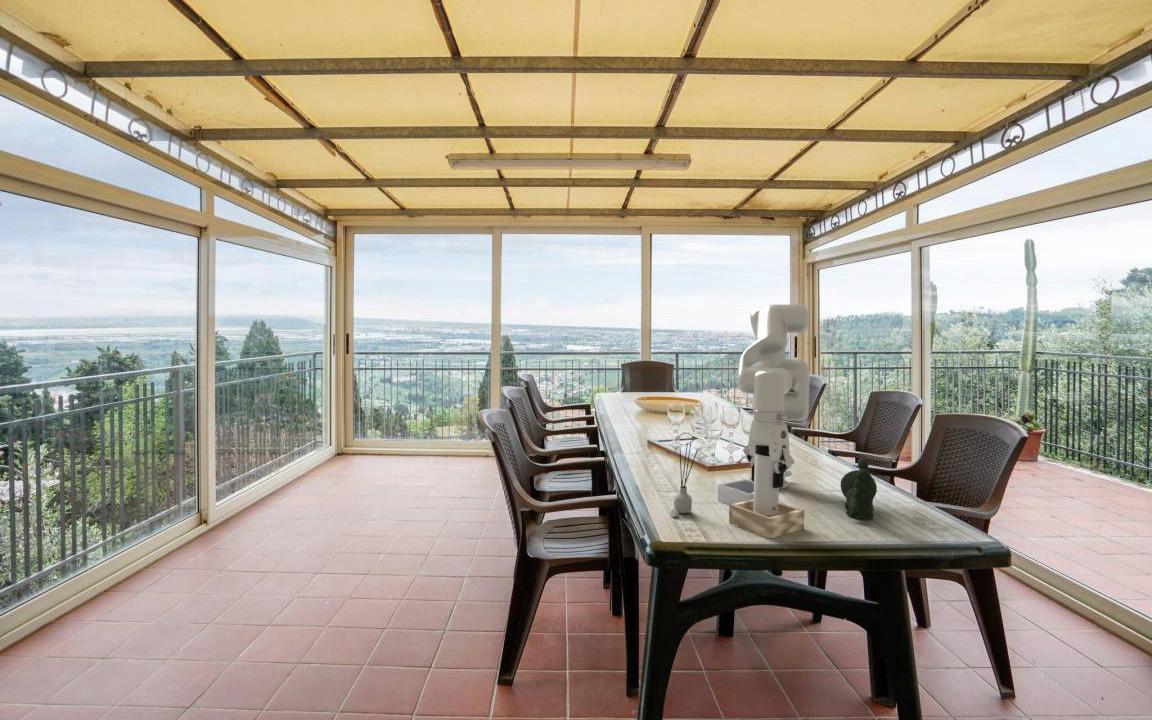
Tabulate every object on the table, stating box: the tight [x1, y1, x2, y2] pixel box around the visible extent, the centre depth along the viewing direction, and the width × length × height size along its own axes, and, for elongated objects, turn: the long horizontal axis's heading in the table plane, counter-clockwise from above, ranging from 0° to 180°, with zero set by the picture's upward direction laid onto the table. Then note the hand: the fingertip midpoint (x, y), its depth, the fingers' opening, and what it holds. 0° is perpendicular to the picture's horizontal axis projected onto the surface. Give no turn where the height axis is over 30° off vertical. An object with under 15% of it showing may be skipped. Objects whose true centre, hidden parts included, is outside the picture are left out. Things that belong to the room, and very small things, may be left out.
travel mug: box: [753, 445, 780, 517], centre depth 145 cm, size 6×7×20 cm
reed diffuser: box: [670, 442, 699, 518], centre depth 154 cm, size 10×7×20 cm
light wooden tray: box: [728, 499, 805, 540], centre depth 145 cm, size 13×13×5 cm
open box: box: [717, 478, 754, 505], centre depth 164 cm, size 12×12×5 cm
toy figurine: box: [840, 457, 878, 521], centre depth 155 cm, size 9×19×25 cm
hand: (766, 483), depth 145 cm, fingers closed on travel mug, 6 cm apart
